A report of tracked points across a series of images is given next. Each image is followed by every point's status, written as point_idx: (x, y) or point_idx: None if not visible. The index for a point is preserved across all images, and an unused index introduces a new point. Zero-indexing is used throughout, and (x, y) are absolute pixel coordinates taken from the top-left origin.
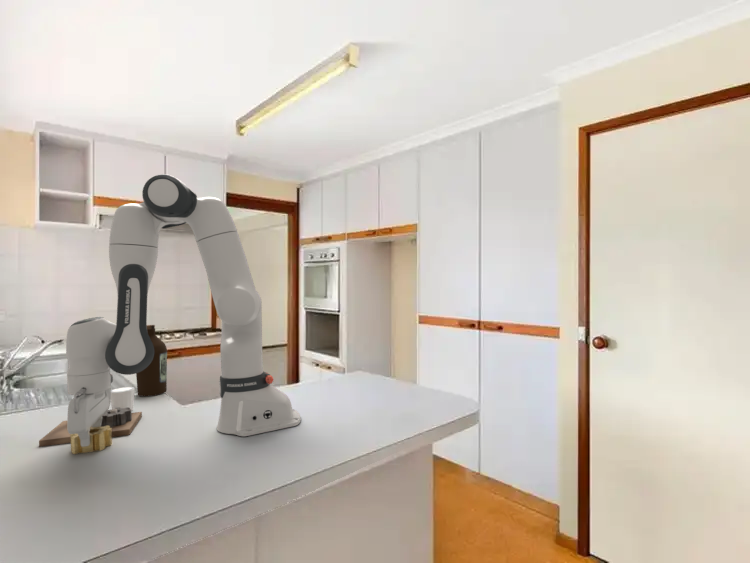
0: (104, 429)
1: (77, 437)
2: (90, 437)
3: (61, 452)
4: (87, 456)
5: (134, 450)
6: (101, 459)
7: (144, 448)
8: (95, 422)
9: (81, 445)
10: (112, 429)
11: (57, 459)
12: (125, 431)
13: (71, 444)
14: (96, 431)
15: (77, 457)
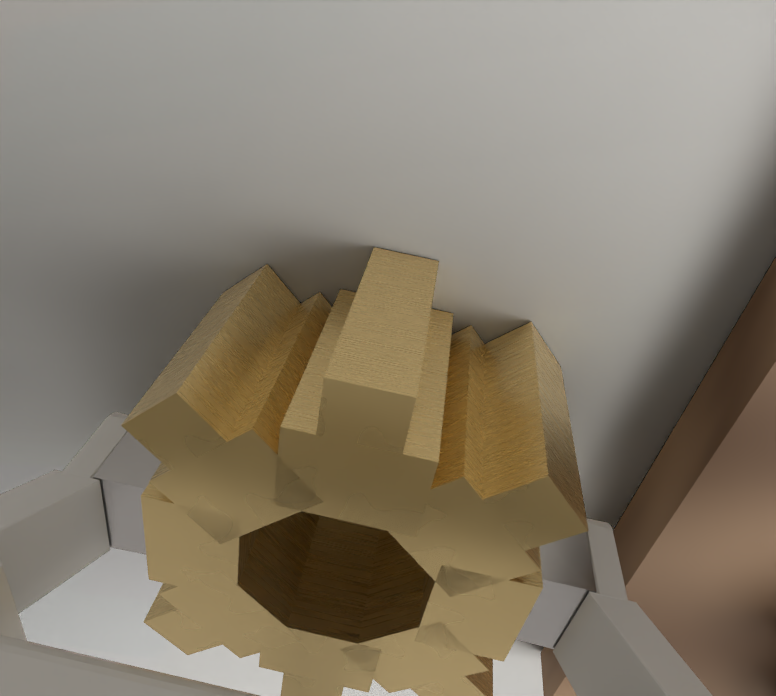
0: (322, 669)
1: (165, 446)
2: (134, 544)
3: (396, 137)
4: (114, 390)
5: (126, 621)
6: (5, 469)
7: (142, 657)
8: (620, 683)
9: (113, 419)
10: (679, 633)
11: (131, 123)
12: (553, 671)
13: (355, 295)
14: (422, 590)
15: (119, 317)
